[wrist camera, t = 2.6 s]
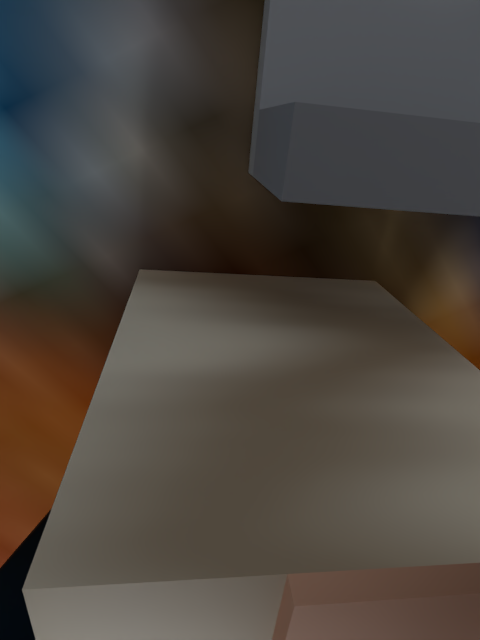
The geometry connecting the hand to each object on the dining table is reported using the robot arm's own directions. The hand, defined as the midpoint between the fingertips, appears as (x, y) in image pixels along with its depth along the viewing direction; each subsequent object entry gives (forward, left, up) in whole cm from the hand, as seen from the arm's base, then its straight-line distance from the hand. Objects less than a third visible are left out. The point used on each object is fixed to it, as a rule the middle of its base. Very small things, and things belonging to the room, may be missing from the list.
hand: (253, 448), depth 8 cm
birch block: (0, 0, -1) cm, 1 cm away
